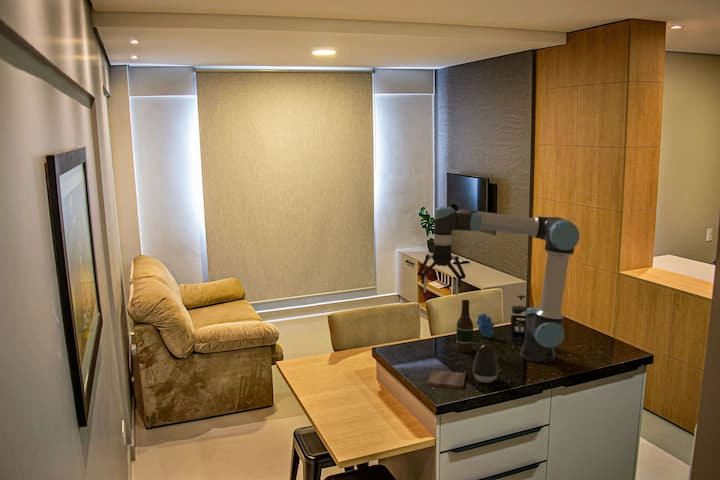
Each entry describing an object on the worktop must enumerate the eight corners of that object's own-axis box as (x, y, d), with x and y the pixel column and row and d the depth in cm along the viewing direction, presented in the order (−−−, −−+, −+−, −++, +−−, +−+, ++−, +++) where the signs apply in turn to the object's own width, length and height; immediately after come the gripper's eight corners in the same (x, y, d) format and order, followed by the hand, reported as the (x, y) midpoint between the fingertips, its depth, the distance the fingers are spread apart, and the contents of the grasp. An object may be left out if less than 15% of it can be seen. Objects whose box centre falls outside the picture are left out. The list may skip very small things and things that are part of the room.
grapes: (470, 335, 307) (471, 312, 305) (480, 333, 310) (481, 310, 309) (486, 341, 297) (487, 317, 295) (496, 339, 301) (497, 315, 299)
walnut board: (465, 375, 252) (465, 373, 252) (462, 388, 239) (463, 385, 238) (431, 372, 255) (432, 370, 255) (427, 385, 242) (427, 382, 242)
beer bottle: (454, 351, 282) (455, 301, 279) (457, 346, 289) (459, 297, 286) (470, 353, 279) (472, 303, 276) (474, 348, 287) (475, 299, 283)
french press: (534, 343, 294) (536, 297, 290) (517, 345, 291) (519, 299, 287) (519, 336, 305) (521, 292, 301) (503, 338, 302) (505, 293, 298)
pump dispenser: (469, 376, 252) (470, 340, 250) (493, 375, 253) (494, 340, 250) (475, 385, 242) (476, 349, 240) (501, 384, 243) (502, 348, 240)
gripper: (473, 244, 256) (470, 293, 260) (414, 241, 262) (413, 288, 265) (472, 247, 249) (469, 297, 252) (412, 243, 255) (410, 292, 258)
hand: (440, 293), depth 259 cm, fingers open, 13 cm apart
